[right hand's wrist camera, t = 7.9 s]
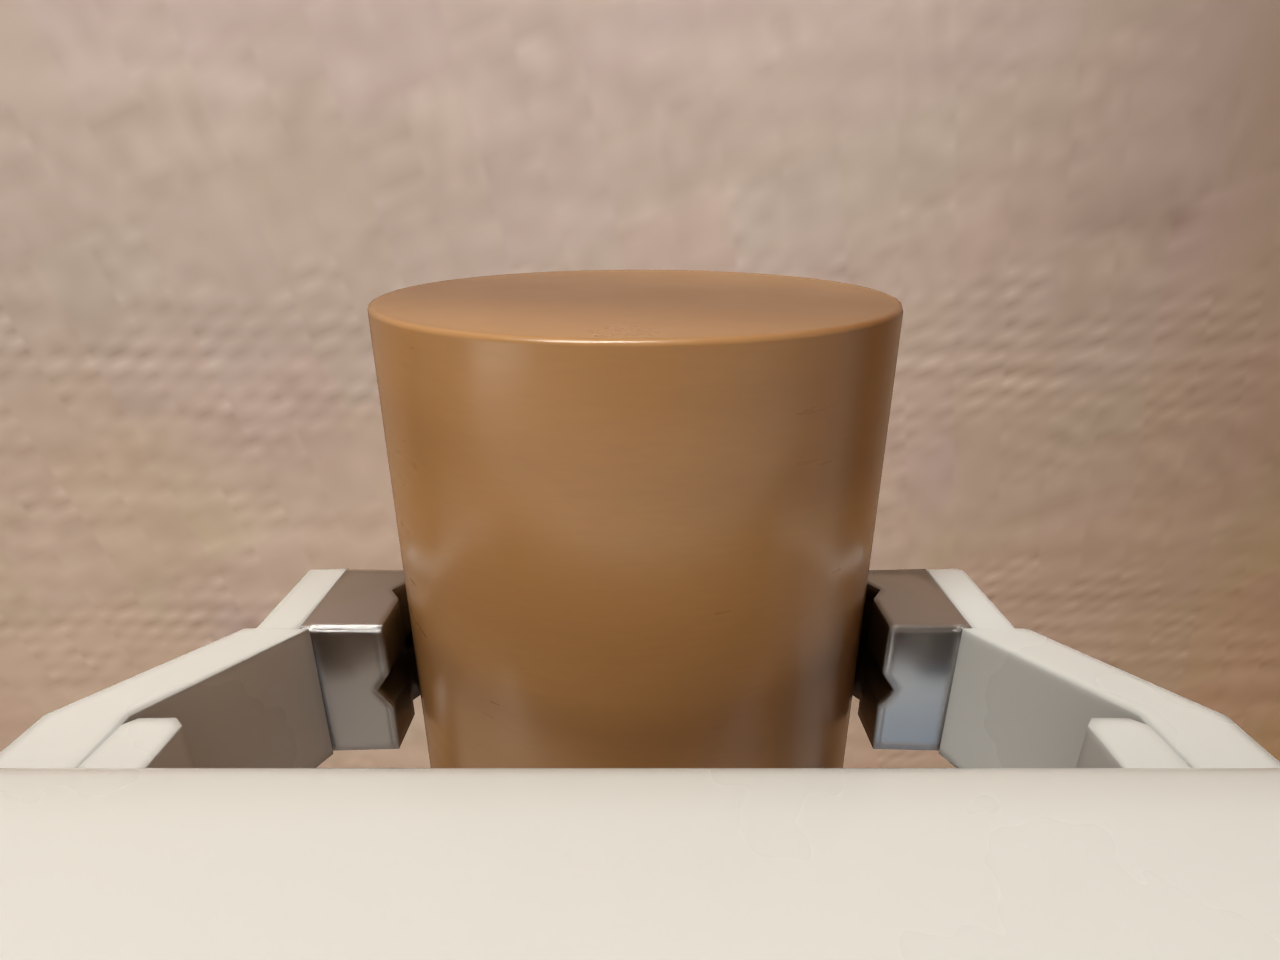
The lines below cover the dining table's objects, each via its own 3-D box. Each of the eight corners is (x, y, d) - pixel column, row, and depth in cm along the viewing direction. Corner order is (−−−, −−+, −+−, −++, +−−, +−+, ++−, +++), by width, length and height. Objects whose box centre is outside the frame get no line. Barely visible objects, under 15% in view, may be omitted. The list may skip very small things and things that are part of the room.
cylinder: (504, 266, 12) (230, 323, 6) (882, 274, 10) (942, 356, 5) (561, 1108, 20) (463, 1440, 15) (774, 1171, 19) (754, 1562, 14)
